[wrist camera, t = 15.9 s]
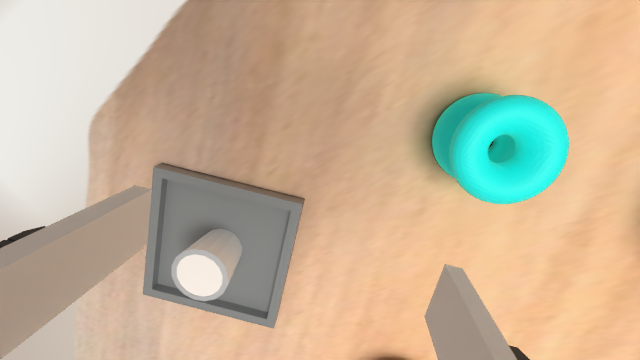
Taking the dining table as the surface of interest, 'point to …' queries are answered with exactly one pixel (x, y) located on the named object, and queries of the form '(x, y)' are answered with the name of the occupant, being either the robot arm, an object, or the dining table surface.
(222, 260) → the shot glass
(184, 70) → the dining table surface
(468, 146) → the donuts
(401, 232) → the dining table surface
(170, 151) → the dining table surface
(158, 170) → the tray
